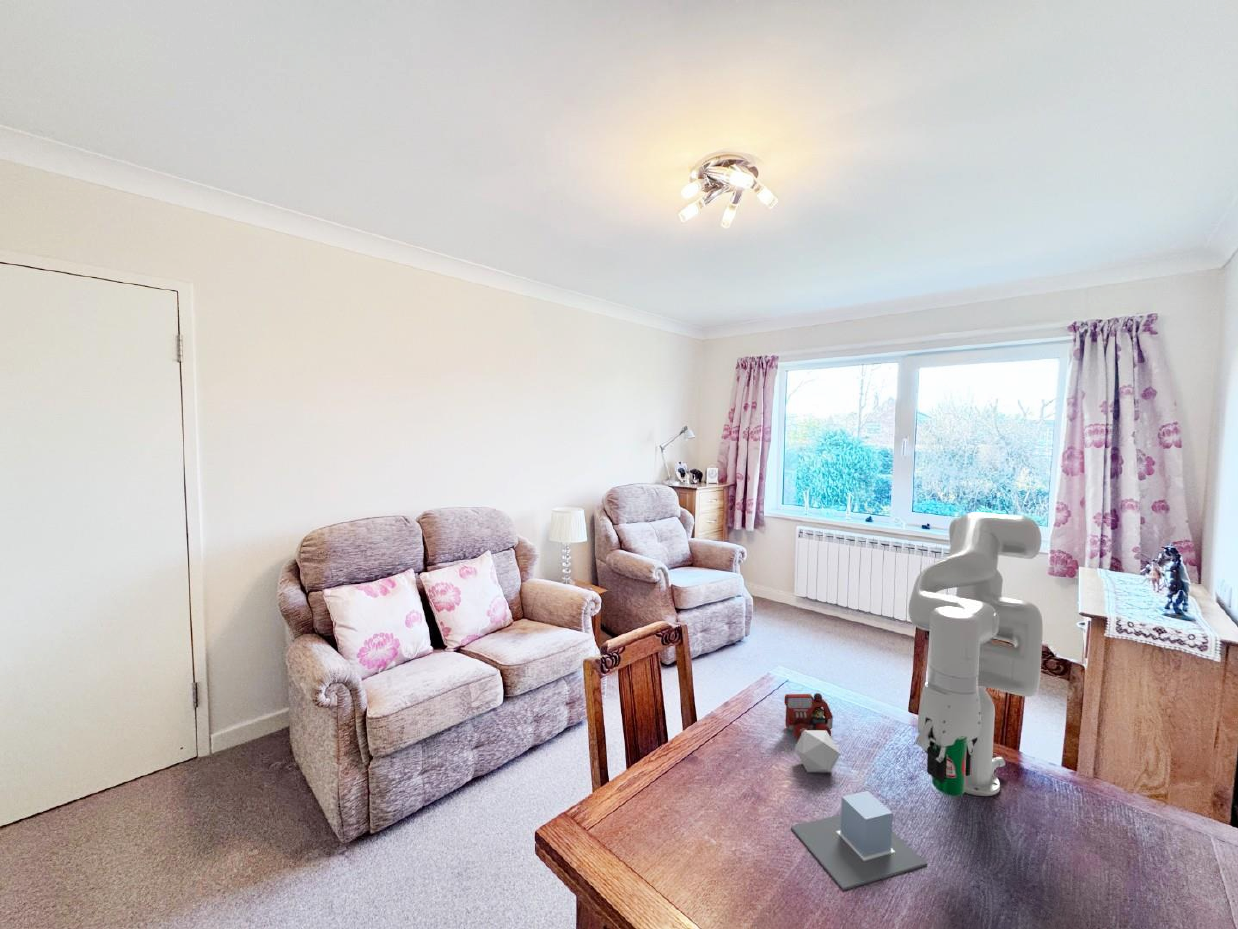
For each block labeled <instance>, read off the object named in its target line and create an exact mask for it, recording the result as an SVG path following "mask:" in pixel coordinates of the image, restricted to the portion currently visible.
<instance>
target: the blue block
mask: <svg viewBox="0 0 1238 929" xmlns="http://www.w3.org/2000/svg"><path fill="white" fill-rule="evenodd" d="M840 809H841V810H840V812H841V813H840V814H841V830H840V832H841V833H842V835H843V836H844V837H845V838H846V839H847V840H848V841H849V842H850V843H851V844H852V845H853V846H854V847H855V848H856V849H857V850H858V851H859V852H860V853H861V854H862V855H863V857H867V856H871V855H874V854H878V853H882V852H885V851H889V850H891V840H892V831H893V818H894V817H893V816H894V815H893V814H894V812H892V811H891V810H890V809H889V808H888V807H887V806H886V805H884V804H883V803H882V802H881V801H880V800H879V799H878V798H876V797H875V796H874V794H872V793H871V792H870V791H868V790H865V791H860V792H857V793H853V794H848V795H843V796H841V807H840Z"/></svg>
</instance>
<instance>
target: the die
mask: <svg viewBox="0 0 1238 929" xmlns="http://www.w3.org/2000/svg"><path fill="white" fill-rule="evenodd" d="M794 750H795V752H796V754H797V755H798V757H799V759H800V761H801V763H802V765H803V767H804V768H805V770H806V772H807V773H831V772H832V771H833V769H834V767H835V765H836V763H837V761H838V760H839V758H840V755H841V752H840V750H839V749H838V747H837V746H836V744H835V742H834V741H833V739H832V736H831V737H830V736H829V734H828V732H827V731H826V730H804V731H803V733H802V735H801V737H800V739H799V740H797V742H796V745H795V747H794Z"/></svg>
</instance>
